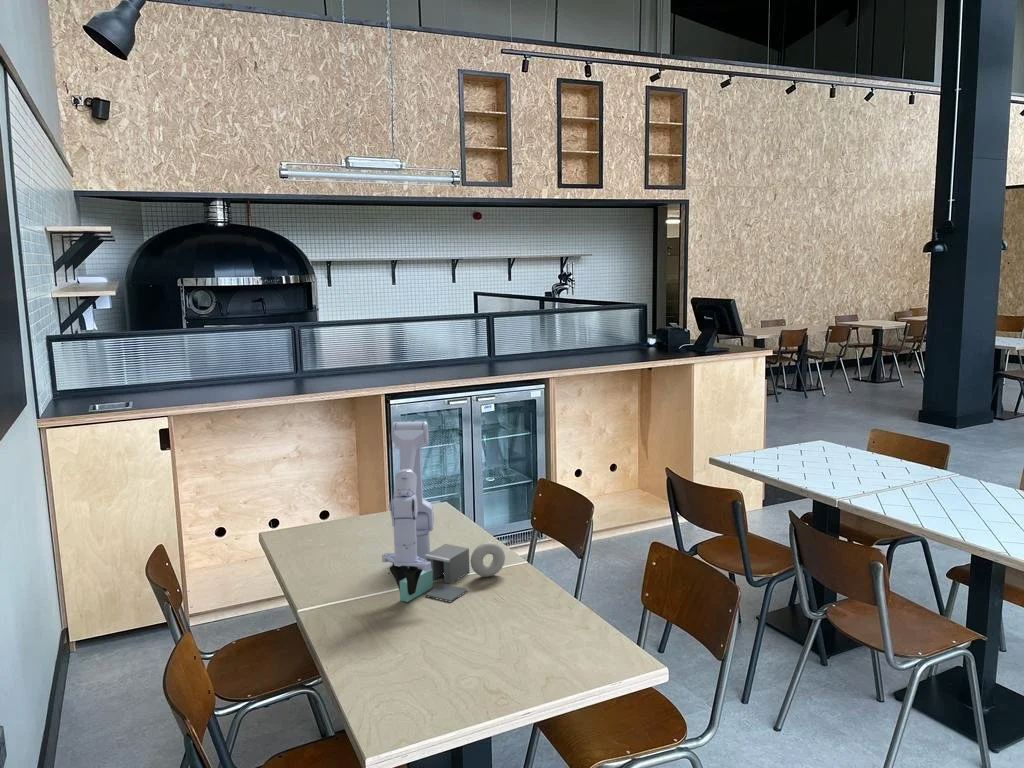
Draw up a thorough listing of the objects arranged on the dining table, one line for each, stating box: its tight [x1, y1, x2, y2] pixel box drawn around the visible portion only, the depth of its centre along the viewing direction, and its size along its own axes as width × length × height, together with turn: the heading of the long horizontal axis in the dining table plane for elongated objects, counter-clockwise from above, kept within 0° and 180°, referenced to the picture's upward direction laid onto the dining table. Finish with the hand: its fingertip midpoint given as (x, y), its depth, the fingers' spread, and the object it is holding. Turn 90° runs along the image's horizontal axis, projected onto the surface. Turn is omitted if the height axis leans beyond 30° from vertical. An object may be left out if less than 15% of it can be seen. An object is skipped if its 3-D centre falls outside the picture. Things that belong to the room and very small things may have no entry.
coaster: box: [425, 583, 469, 602], centre depth 202 cm, size 8×8×1 cm
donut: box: [470, 541, 506, 578], centre depth 212 cm, size 10×4×10 cm, turn 112°
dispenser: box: [425, 543, 471, 584], centre depth 213 cm, size 8×10×7 cm
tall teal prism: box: [399, 569, 434, 603], centre depth 201 cm, size 2×11×5 cm, turn 150°
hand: (407, 592), depth 198 cm, fingers closed on tall teal prism, 2 cm apart
